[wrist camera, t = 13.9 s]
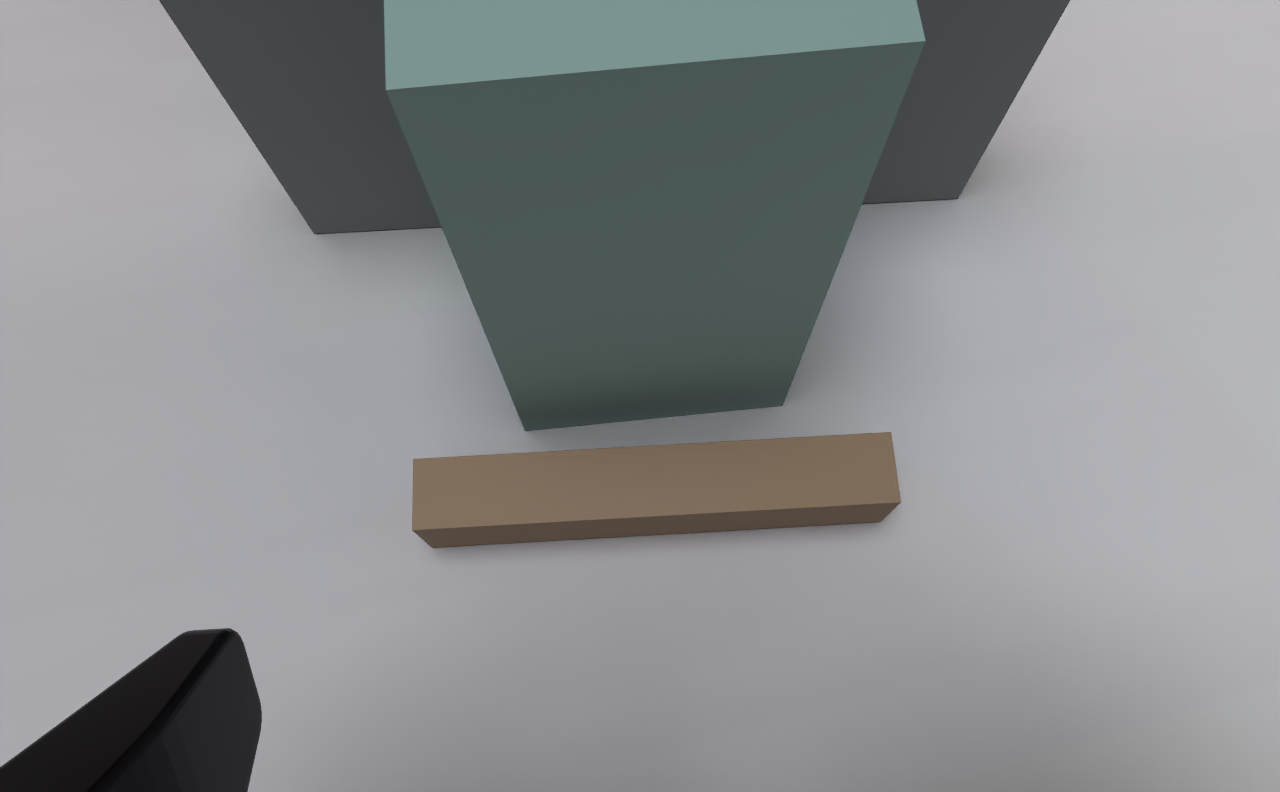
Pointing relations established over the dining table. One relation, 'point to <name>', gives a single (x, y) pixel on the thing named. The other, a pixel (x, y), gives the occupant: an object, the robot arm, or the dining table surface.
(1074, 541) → the dining table surface
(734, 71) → the cabinet box
